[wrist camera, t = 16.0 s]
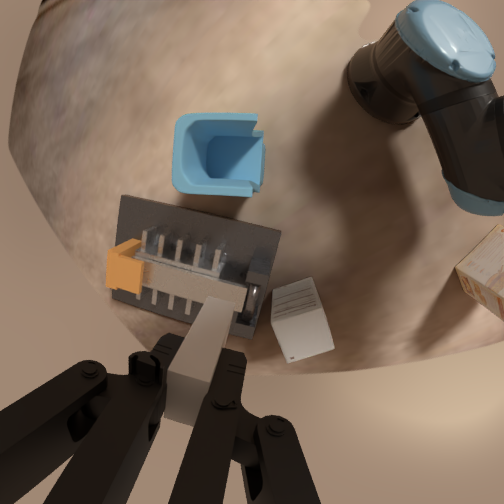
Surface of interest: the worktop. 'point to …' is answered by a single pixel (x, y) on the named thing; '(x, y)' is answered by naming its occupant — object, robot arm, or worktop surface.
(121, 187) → the worktop surface
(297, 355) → the supplement box
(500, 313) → the coffeecake box
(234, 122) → the vase
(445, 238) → the worktop surface
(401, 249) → the worktop surface
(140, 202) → the heatsink
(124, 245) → the lug slider
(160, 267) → the strap
